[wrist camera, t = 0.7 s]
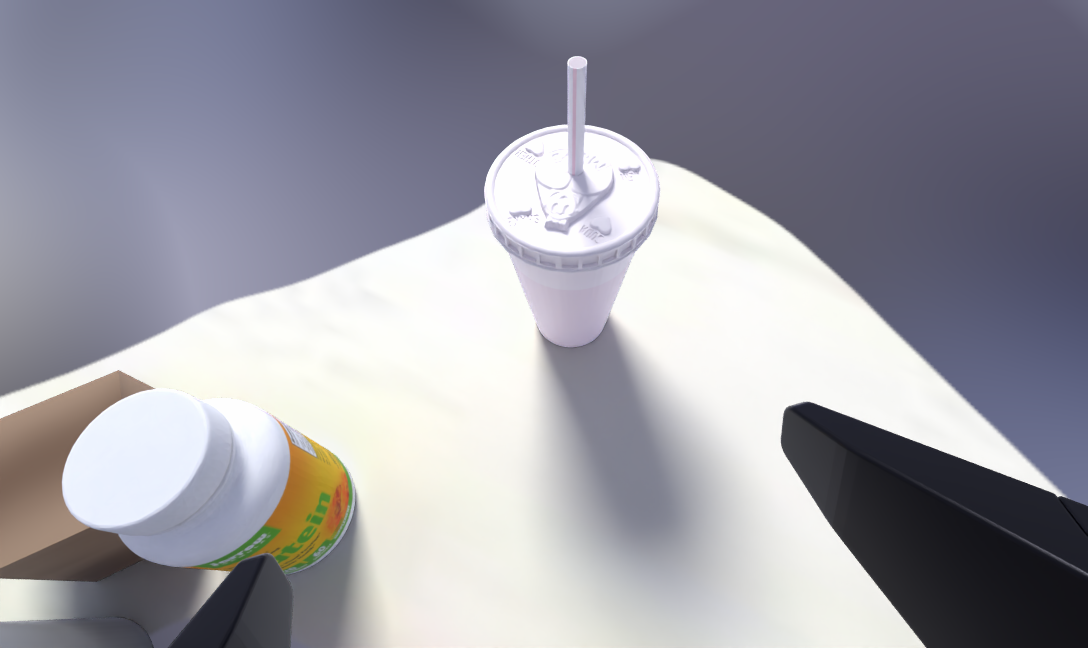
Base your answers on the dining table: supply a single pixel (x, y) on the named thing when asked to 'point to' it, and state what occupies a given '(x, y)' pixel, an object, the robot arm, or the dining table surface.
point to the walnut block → (54, 488)
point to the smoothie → (572, 216)
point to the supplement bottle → (207, 483)
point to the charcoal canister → (74, 634)
